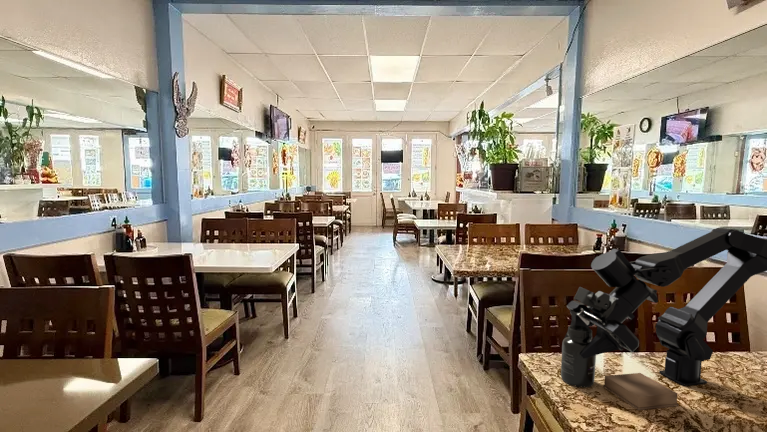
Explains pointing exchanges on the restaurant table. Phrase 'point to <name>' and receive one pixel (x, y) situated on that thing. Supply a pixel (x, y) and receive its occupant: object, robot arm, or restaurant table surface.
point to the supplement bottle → (577, 358)
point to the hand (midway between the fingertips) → (572, 349)
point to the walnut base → (640, 391)
